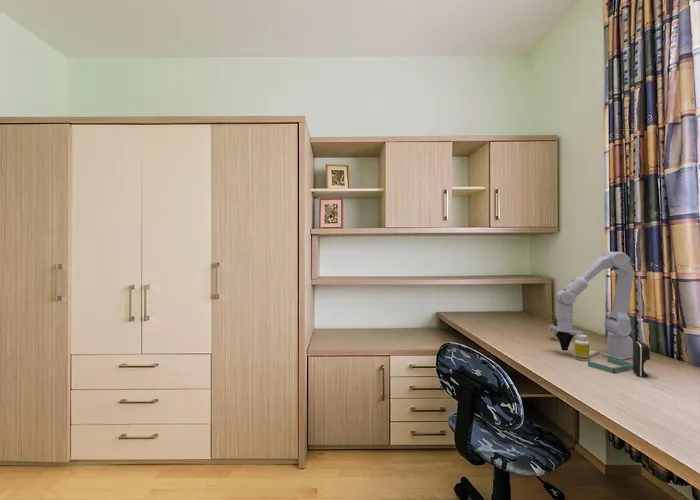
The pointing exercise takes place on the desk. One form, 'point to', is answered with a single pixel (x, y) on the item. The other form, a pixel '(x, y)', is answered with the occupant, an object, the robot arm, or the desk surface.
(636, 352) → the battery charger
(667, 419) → the desk surface
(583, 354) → the supplement bottle
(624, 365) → the bracket
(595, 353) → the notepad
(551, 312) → the house plant
